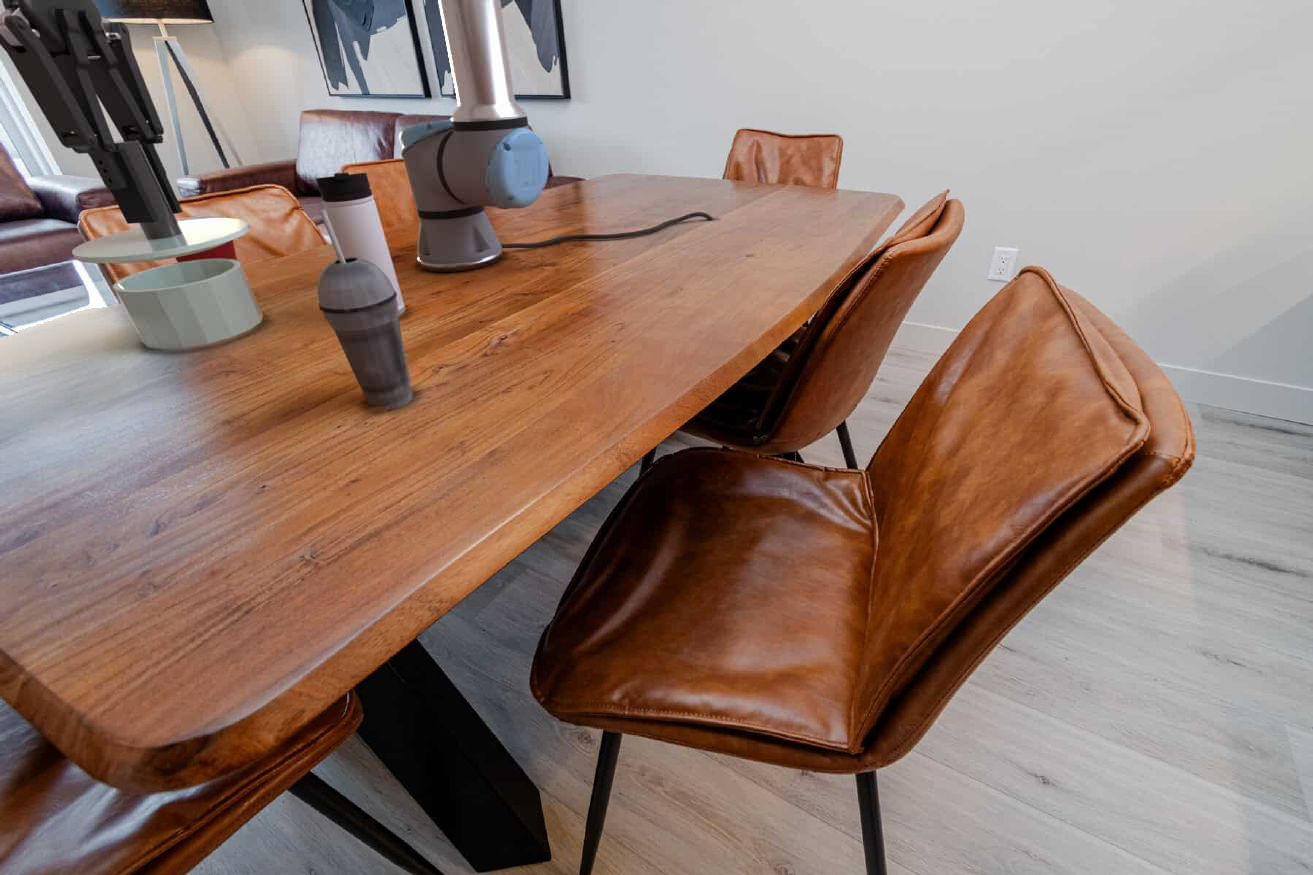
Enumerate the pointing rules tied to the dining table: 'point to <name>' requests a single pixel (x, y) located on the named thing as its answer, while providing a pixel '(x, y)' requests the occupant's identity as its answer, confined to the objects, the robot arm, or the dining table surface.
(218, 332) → the bowl
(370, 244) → the travel mug
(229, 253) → the plastic cup
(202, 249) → the lid
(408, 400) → the beverage cup
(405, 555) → the dining table surface
